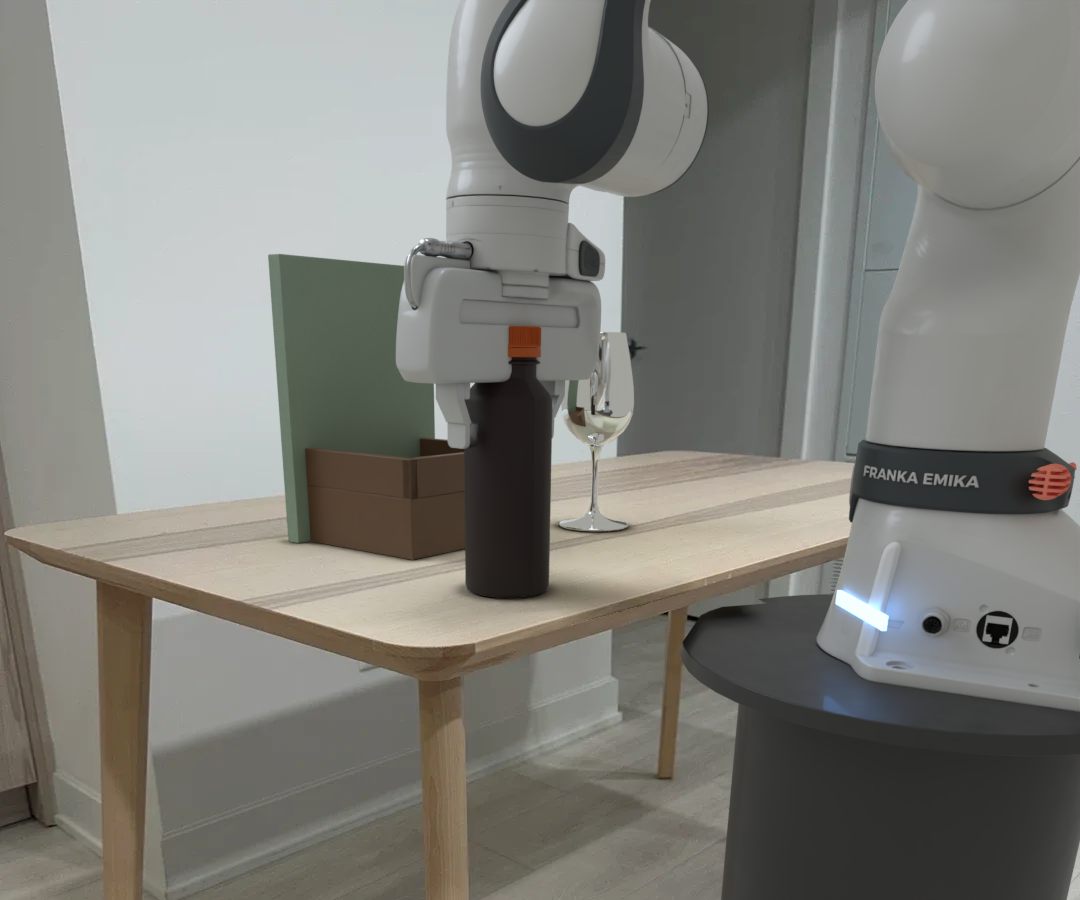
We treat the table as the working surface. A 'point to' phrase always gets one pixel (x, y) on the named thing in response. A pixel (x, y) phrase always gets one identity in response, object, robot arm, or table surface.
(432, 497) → the door shelf
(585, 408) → the wineglass
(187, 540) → the table surface
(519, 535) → the vinegar
